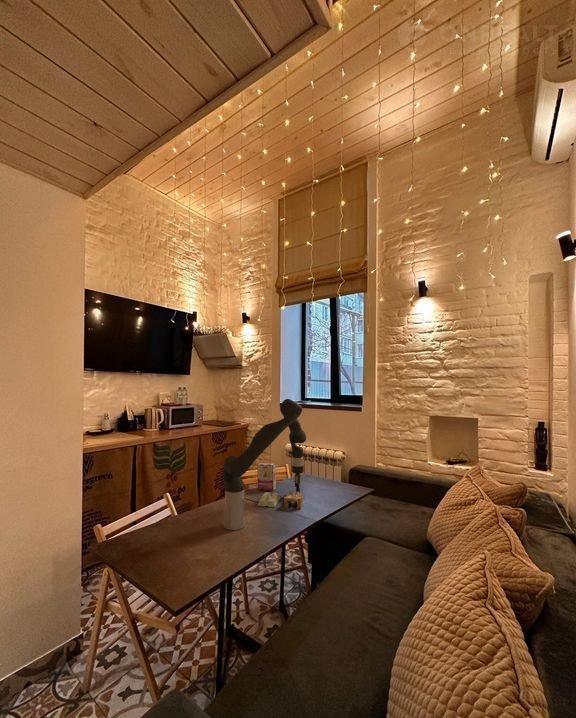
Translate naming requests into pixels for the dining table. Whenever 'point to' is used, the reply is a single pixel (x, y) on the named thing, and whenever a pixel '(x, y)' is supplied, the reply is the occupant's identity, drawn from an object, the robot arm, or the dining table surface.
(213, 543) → the dining table surface
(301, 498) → the bore block
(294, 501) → the steel axle
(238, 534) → the dining table surface
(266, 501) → the axle cradle
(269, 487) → the candy bar box
